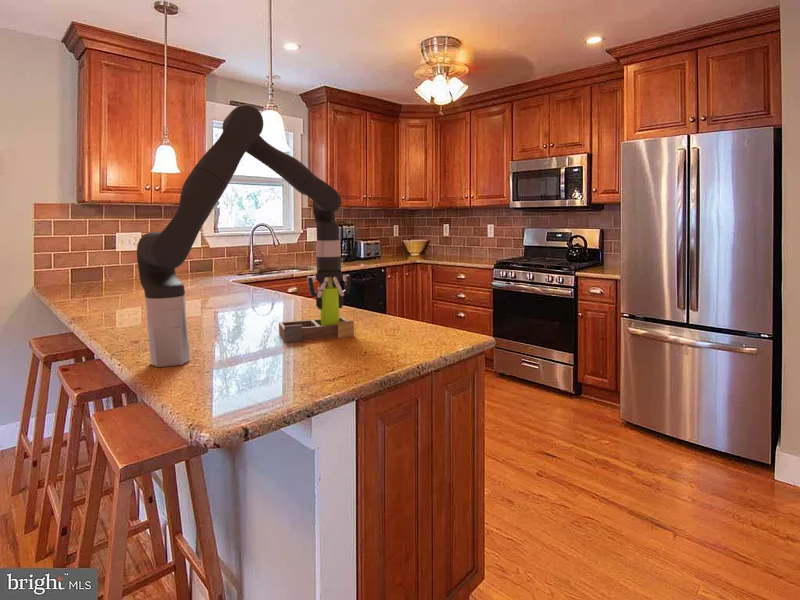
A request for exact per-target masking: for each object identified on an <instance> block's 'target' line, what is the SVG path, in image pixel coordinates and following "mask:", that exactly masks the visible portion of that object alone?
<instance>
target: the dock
mask: <svg viewBox="0 0 800 600" xmlns="http://www.w3.org/2000/svg"><path fill="white" fill-rule="evenodd" d="M339 320H340V322H337V325H326V326H321V318H317V319H304V320H303V319H302V320H291V321H279V322H278V335H279V336H280V338H281V339H282V341H284V343H285V344H289V343H299V342H303V341H311V340H313V341H315V340H323V339H333V338H335V339H336V338H337V339H345V338H354V337H355V320H348V319H347V318H346V317H343V316H341V317H340V316H339Z"/></svg>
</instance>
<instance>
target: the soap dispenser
mask: <svg viewBox="0 0 800 600" xmlns="http://www.w3.org/2000/svg"><path fill="white" fill-rule="evenodd" d="M319 269H320V268H319ZM328 279H329V280H328V286H327V287H328V288H324V291H323V292H322V295H321V302H322V309H320V310H319V311H320V319H321V326H326V325H337V322H340V320H339V318H340V308H339V292H338V289H337V287H333V281H332V277H328Z"/></svg>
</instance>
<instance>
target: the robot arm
mask: <svg viewBox="0 0 800 600" xmlns="http://www.w3.org/2000/svg"><path fill="white" fill-rule="evenodd" d="M263 129H264V118H263V115H262V113H261V112H260V110H259V109H258V107H257V108H256V106H253V105H251V104H242V105H237V106H235V108H233V109H232V110H231V111H230V112H229V113H228V115H227V116H226V117H225V118H224V120H223V122H222V131H221V135H220V136H219V138H218V139H216V141H215V143H214V144H213V145H212V146H211V147H210V148H209V149H208V150H207V151H206V152H205V153H204V155H203V156H201V158H200V159H199V161H197V163H196V164H195V166H194V167H193V169H192V170H191V172H190V173H189V175H188V176H187V177H186V179H185V181H184V183H183V184H182V188H181V192H180V197H179V202H178V203H179V204H178V207H177V210H176V212H175V213H174V215H173V217H172V218H171V220H170V221H169V222H168V224H167V225H166V227H164V229H163V230H162V231H151V232H148V233H147V232H146V233H145V234H144V235H141V237H140V239H139V240H138V243H137V244H136V245H137V246H136V259H137V260H136V261H137V267H138V268H137V269H138V274H139V275H138V276H139V282H140V285H141V287H142V288H143V292H144V298H145V312H146V322H147V333H148V334H147V335H148V347H149V356H150V357H149V358H150V364H151V365H152V366H154V367H155V368H161V367H162V368H163V367H172V366H182V365H184V364H186V363H188V362H190V360H191V359H190V358H191V357H190V344H189V331H188V318H187V305H186V304H187V303H186V291H185V290H186V289H185V285H184V283H183V282H182V281H181V280H180V279H179V277H178V276H177V273H176V269H177V268H179V267H180V266H181V265H182V264H183V263H184V262H185V261H186V259H187V258H188V255H189V254H190V251H192V250H191V249H192V248H193V245H194V244H195V241H196V239H197V237H198V235H199V233H200V230H201V229H202V228H203V227H202V226H204V223H205V222H206V221H207V219H208V218H209V216H210V214H211V213H212V211H213V209H214V207H216V205H217V204H218V202H219V201H220V198H221V197H222V195H223V194H224V192H225V190H226V189H227V187H228V185H229V183H230V182H231V180H232V178H233V176H234V174H235V173H236V170H237V169H238V166H239V164H240V162H241V160H242V158H243V156H244V155H245V154H246V153H247V154H248V155H250V156H251V157H253V158H255V159H256V160H258V162H261V163H262V164H263V165H265V166H267V167H268V168H270V170H271V171H274V172H275V173H276V174H277V175H278V176H280V177H281V178H282V179H283V180H284V181H285V182H286V183H288V184H289V185H290V186H291V187H292V188H293V189H294V190H296V191H297V192H298V193H300V194H302V195H304V196H306V197H308V198H310V199H311V200H312V211H313V215H314V222H315V226H316V230H315V231H316V243H315V244H316V245H315V246H316V248H315V255H316V257H315V258H316V273H315V275H313V276H307V277H306V281H307V287H308V291H309V292H308V293H309V295H310V296H312V297H314V298H315V306H316V308H317V309H318V310H319V311H320V309H322V302H321V295H322V292H323V291H324V288H328V287H327V286H328V280H329V279H328V277H332V281H333V287H337V289H338V292H339V309H343V306H345V303H344V300H345V299H344V296H345V295H349V294H350V293H351V292H350V291H351V283H352V276H351V275H350V274H343V273H342V260H341V259H342V258H341V257H342V255H341V254H342V253H341V249H342V248H341V243H340V225H339V223H338V222H337V221H336V214H335V212H337V211H338V210H340V208H341V206H342V197H341V194H339V192H338V191H337V190H336V189H335V188H334V187H333V186H331V185H330V184H328V183H327V182H326V181H324V180H322V179H321V178H319V176H316V175H315V174H314V172H313V171H312V170H310V169H309V168H308V167H307V166H305V164H304V163H302V162H301V161H300V160H299V159H297V158H295V157H294V156H292V155H290V154H288V153H286V152H284V151H282V150H280V149H278V148H276V147H275V146H273V145H271V144H270V143H268V142H267V141H266V140H265V139H264V138H263V137H262V136H261V133H262V132H263ZM319 268H320V269H319ZM316 281H317V282H318V283H319V285H318V287H317V290H315V287H314V286H315V285H314V284H315V282H316ZM341 281H344V287H343V289H342V286H341V285H340V283H341ZM151 365H150V366H151Z"/></svg>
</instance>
